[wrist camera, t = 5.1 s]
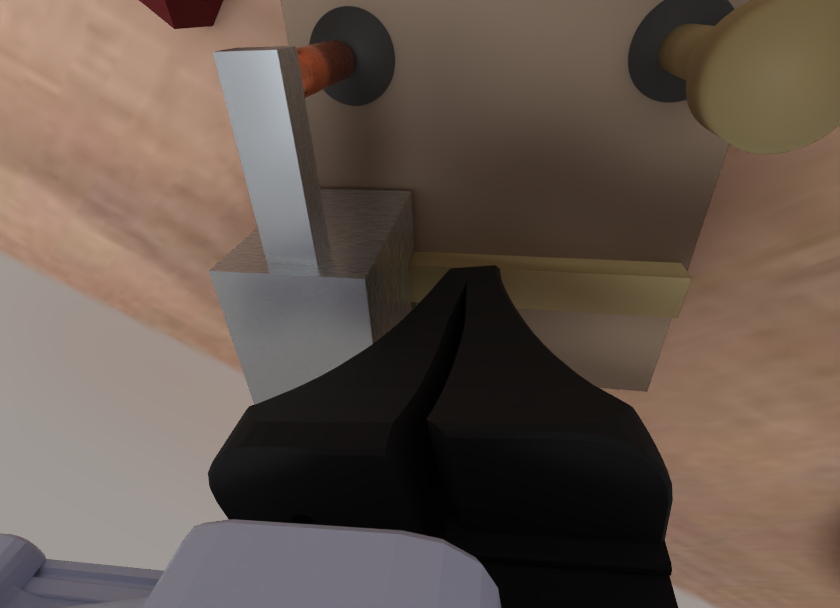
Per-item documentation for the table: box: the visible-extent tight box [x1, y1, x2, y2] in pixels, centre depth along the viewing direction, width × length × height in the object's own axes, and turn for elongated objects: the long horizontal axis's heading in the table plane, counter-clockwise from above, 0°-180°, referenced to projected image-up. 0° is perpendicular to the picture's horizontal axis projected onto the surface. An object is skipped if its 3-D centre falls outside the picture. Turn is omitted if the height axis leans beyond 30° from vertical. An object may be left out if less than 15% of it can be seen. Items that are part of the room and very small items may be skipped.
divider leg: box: [209, 40, 417, 405], centre depth 10 cm, size 8×3×4 cm, turn 3°
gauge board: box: [281, 0, 840, 392], centre depth 10 cm, size 13×10×6 cm
